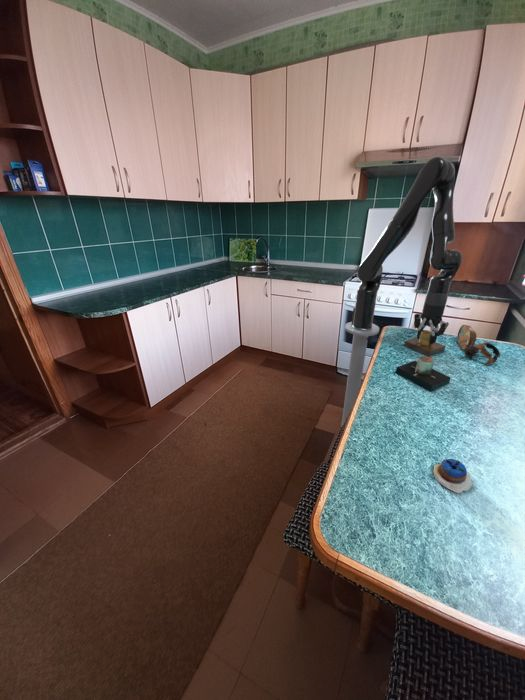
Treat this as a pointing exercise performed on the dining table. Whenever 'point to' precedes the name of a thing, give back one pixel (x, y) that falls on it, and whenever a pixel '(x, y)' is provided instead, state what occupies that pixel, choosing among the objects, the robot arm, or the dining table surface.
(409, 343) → the walnut box
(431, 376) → the control box
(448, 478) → the dessert
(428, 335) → the dial
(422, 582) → the dining table surface
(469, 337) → the tin
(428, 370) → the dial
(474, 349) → the brown black curved band
